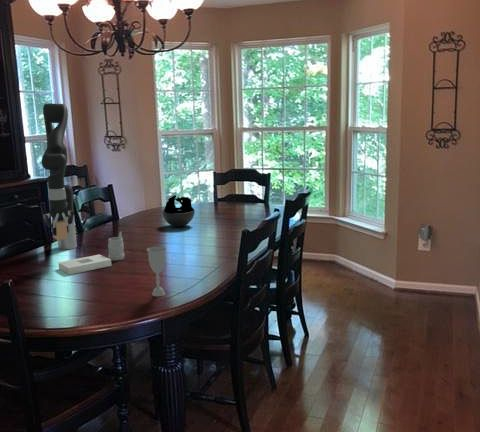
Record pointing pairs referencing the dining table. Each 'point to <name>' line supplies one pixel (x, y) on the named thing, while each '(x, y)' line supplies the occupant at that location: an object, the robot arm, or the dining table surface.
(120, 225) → the dining table surface
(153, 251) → the chalice
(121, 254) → the mug
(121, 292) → the dining table surface
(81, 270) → the socket plate
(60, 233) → the plug
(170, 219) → the coal bowl
